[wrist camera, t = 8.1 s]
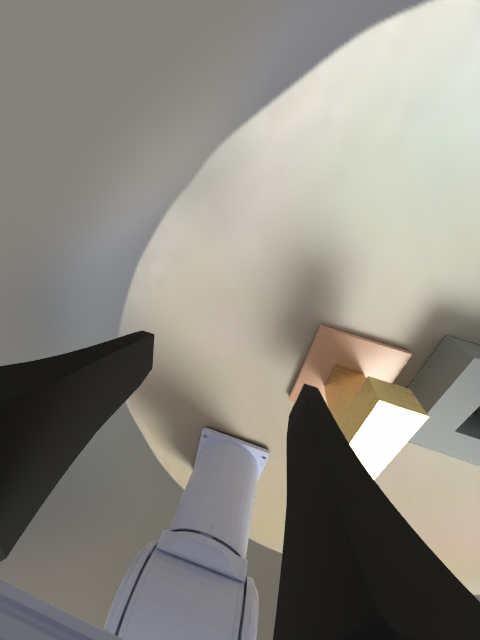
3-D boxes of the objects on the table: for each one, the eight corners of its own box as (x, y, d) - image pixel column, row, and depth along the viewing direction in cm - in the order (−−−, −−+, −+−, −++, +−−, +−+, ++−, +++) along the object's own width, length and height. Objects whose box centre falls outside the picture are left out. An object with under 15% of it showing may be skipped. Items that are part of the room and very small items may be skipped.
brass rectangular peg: (338, 416, 21) (356, 500, 15) (312, 407, 21) (319, 486, 15) (381, 345, 17) (428, 416, 11) (349, 336, 18) (379, 400, 11)
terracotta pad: (362, 420, 21) (363, 424, 21) (289, 395, 22) (288, 399, 21) (409, 351, 18) (412, 354, 17) (320, 324, 18) (320, 327, 18)
